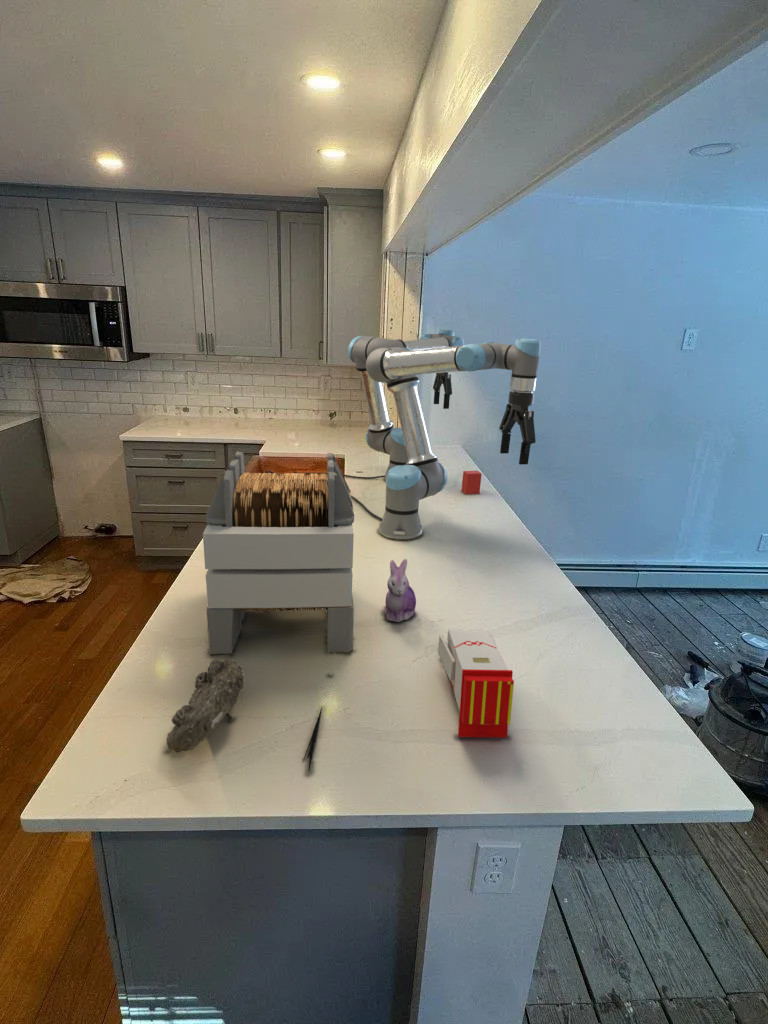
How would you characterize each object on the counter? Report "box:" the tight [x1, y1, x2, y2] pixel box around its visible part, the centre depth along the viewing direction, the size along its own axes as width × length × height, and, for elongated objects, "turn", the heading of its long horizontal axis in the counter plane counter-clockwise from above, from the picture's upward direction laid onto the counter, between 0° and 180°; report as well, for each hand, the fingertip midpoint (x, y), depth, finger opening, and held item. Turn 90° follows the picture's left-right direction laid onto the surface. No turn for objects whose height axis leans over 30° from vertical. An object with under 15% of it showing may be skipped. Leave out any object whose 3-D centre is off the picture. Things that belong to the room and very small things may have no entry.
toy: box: [437, 628, 515, 738], centre depth 117 cm, size 12×13×30 cm
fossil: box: [166, 658, 245, 754], centre depth 106 cm, size 22×10×15 cm
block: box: [461, 470, 483, 495], centre depth 248 cm, size 5×7×9 cm
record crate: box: [202, 451, 355, 655], centre depth 137 cm, size 34×33×41 cm
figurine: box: [384, 558, 417, 623], centre depth 145 cm, size 9×10×15 cm
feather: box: [301, 673, 332, 771], centre depth 108 cm, size 2×28×2 cm
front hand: (513, 458), depth 181 cm, fingers open, 13 cm apart
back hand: (441, 406), depth 285 cm, fingers open, 13 cm apart
